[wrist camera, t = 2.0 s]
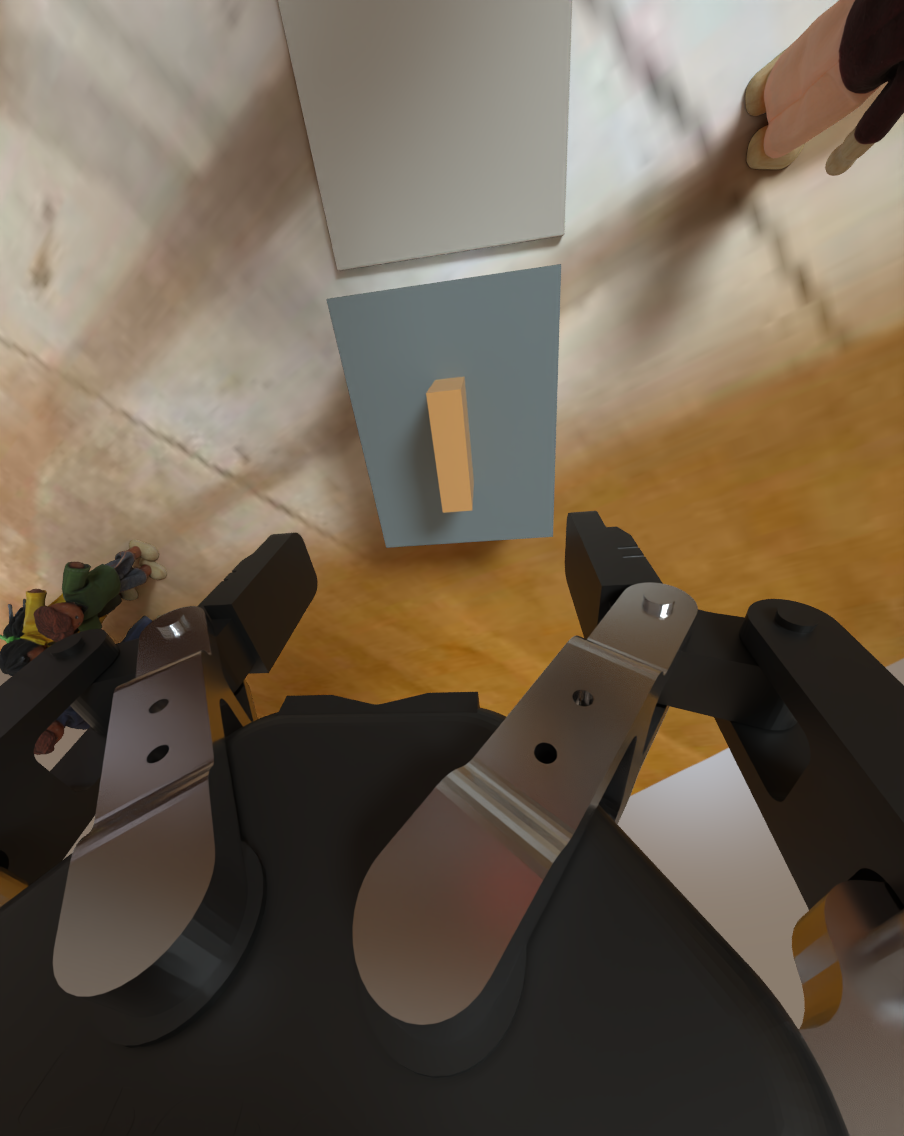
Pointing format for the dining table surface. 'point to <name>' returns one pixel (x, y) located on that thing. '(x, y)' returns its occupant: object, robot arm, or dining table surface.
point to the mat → (434, 121)
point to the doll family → (76, 617)
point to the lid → (456, 404)
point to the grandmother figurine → (831, 84)
